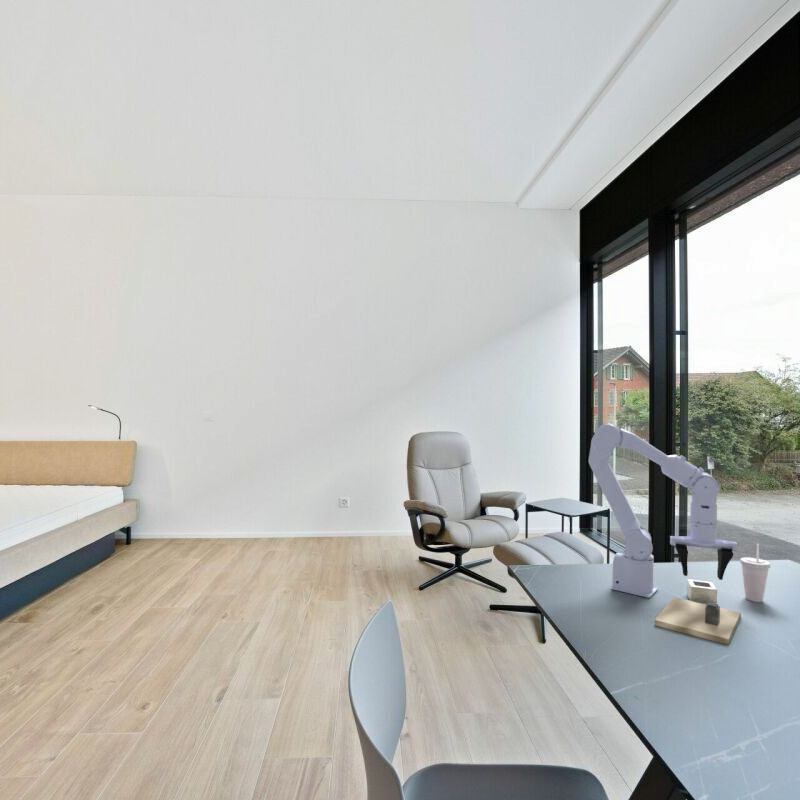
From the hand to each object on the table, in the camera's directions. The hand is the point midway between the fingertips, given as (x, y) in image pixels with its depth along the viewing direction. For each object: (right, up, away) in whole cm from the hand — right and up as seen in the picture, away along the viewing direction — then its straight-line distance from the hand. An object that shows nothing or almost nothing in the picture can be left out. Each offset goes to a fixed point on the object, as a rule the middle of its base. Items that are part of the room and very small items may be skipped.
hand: (702, 576), depth 133 cm
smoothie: (+14, -6, +1) cm, 15 cm away
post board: (-8, -6, -13) cm, 16 cm away
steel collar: (0, -6, 0) cm, 6 cm away
